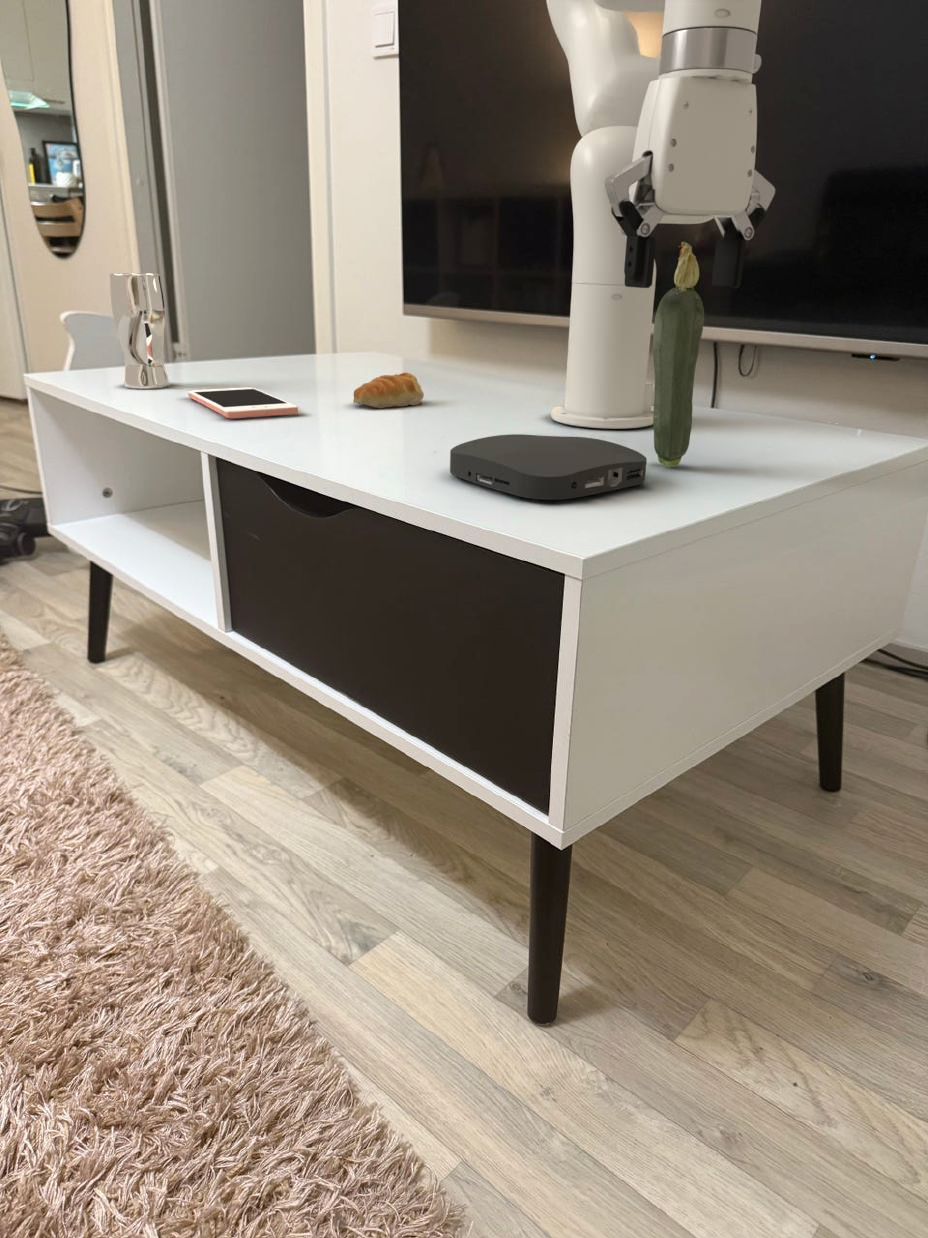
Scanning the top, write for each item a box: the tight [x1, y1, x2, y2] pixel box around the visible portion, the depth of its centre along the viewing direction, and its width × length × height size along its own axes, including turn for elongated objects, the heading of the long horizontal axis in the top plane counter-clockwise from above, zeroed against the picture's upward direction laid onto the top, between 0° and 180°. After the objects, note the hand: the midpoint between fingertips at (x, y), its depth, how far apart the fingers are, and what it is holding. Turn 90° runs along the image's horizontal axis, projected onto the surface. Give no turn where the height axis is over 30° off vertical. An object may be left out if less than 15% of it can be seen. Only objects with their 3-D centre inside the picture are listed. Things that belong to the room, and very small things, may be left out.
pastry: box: [352, 372, 425, 409], centre depth 117 cm, size 9×7×4 cm
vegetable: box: [652, 241, 705, 468], centre depth 82 cm, size 4×4×20 cm
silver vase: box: [109, 272, 170, 390], centre depth 126 cm, size 7×7×15 cm
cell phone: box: [187, 386, 299, 419], centre depth 114 cm, size 9×18×1 cm, turn 30°
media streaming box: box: [449, 433, 648, 501], centre depth 80 cm, size 15×15×3 cm
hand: (682, 287), depth 80 cm, fingers open, 9 cm apart
